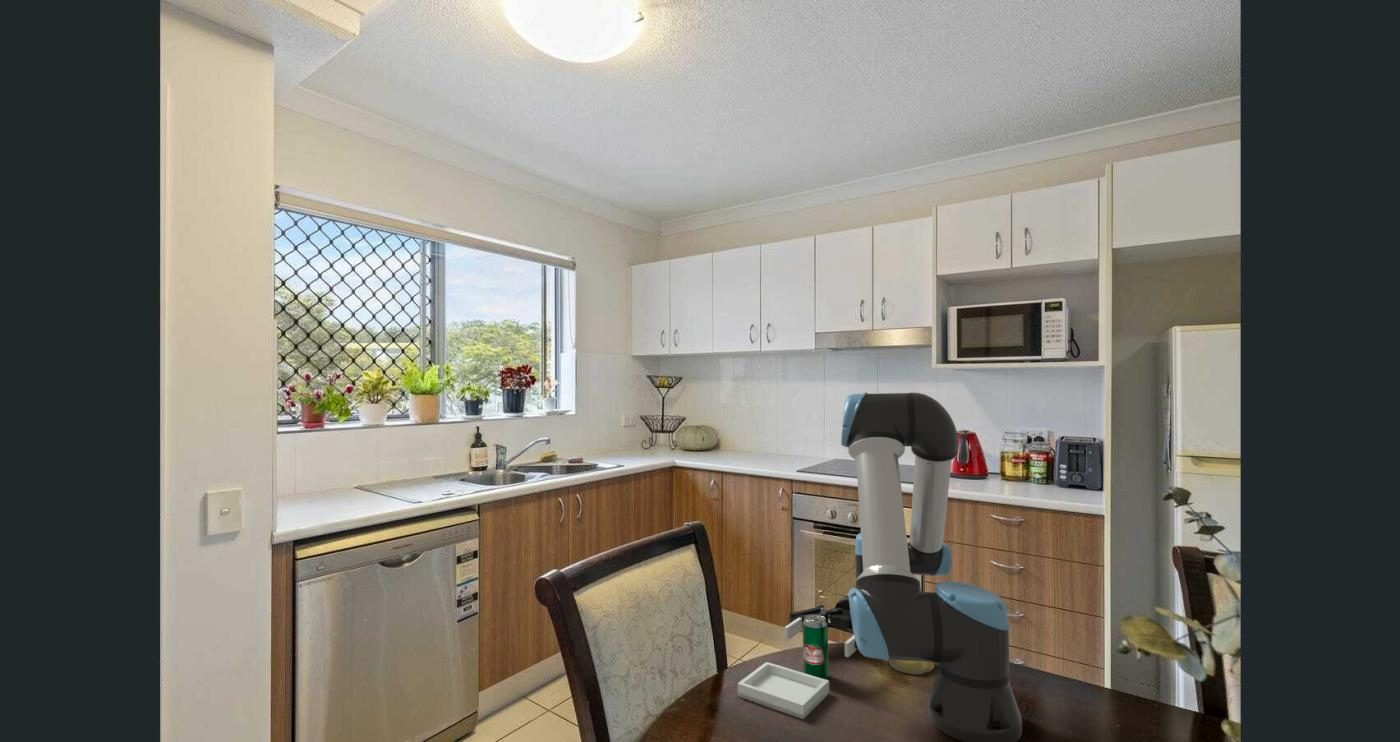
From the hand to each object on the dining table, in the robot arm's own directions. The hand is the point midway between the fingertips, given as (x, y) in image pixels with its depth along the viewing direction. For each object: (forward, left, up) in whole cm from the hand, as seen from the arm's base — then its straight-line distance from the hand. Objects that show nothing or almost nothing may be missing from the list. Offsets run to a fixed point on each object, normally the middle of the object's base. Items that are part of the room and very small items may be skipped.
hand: (815, 641), depth 126 cm
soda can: (0, +1, -7) cm, 7 cm away
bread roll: (-15, -15, -7) cm, 23 cm away
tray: (+2, +11, -7) cm, 13 cm away
